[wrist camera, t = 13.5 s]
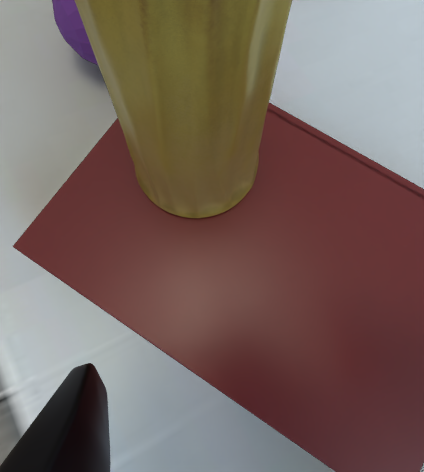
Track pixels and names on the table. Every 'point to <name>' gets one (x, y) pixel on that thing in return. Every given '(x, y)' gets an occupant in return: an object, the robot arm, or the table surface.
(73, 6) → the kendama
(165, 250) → the book
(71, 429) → the robot arm
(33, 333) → the table surface
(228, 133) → the vase
